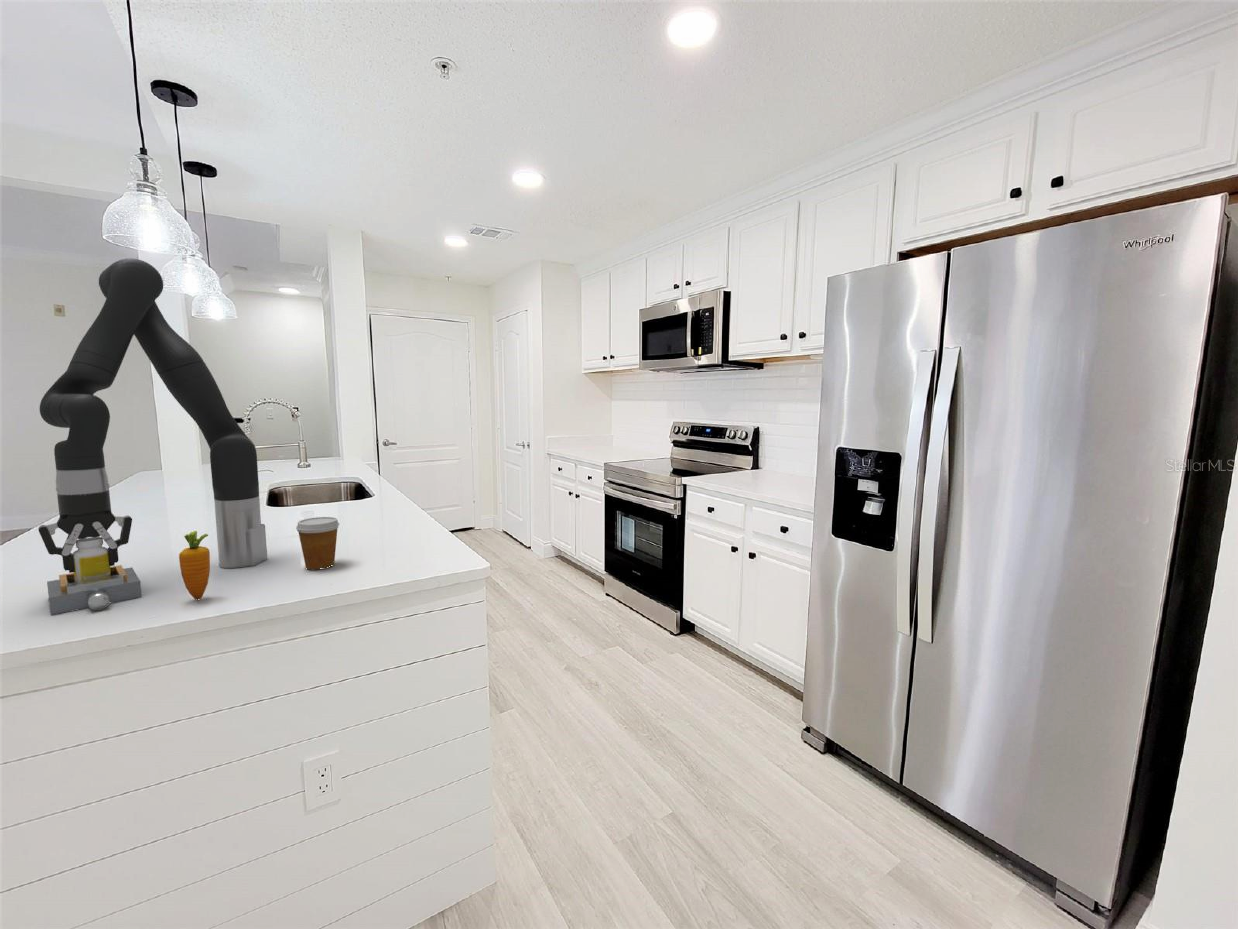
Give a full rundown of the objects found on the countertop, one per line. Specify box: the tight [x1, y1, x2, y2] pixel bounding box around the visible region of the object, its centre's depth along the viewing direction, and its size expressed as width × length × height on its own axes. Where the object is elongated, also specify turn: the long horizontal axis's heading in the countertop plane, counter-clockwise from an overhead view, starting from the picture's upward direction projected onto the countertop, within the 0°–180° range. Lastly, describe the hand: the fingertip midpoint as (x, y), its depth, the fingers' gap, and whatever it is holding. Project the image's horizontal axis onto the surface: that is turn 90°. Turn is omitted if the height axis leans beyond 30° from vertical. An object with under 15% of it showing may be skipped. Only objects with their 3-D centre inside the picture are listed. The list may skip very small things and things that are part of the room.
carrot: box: [178, 530, 211, 601], centre depth 106 cm, size 5×5×15 cm
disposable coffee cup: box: [295, 516, 340, 571], centre depth 129 cm, size 10×10×12 cm
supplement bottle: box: [72, 536, 111, 582], centre depth 108 cm, size 5×5×10 cm
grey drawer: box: [46, 564, 143, 616], centre depth 106 cm, size 13×17×5 cm
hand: (92, 568), depth 108 cm, fingers closed on supplement bottle, 5 cm apart
